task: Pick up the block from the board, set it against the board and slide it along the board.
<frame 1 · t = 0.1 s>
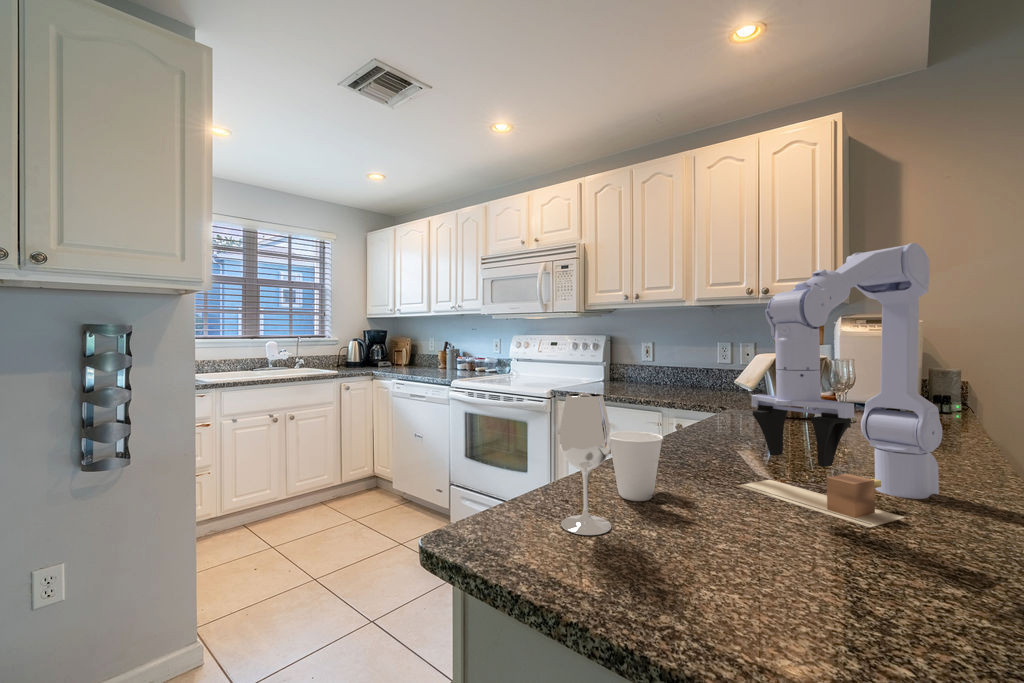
hand: (799, 460, 70), 10 cm above the counter, tool pointing down, fingers open, 7 cm apart
block: (850, 511, 72), point 1 cm above the counter, touching board
wineglass: (586, 527, 71), on the counter
board: (812, 508, 77), on the counter
cup: (635, 497, 84), on the counter
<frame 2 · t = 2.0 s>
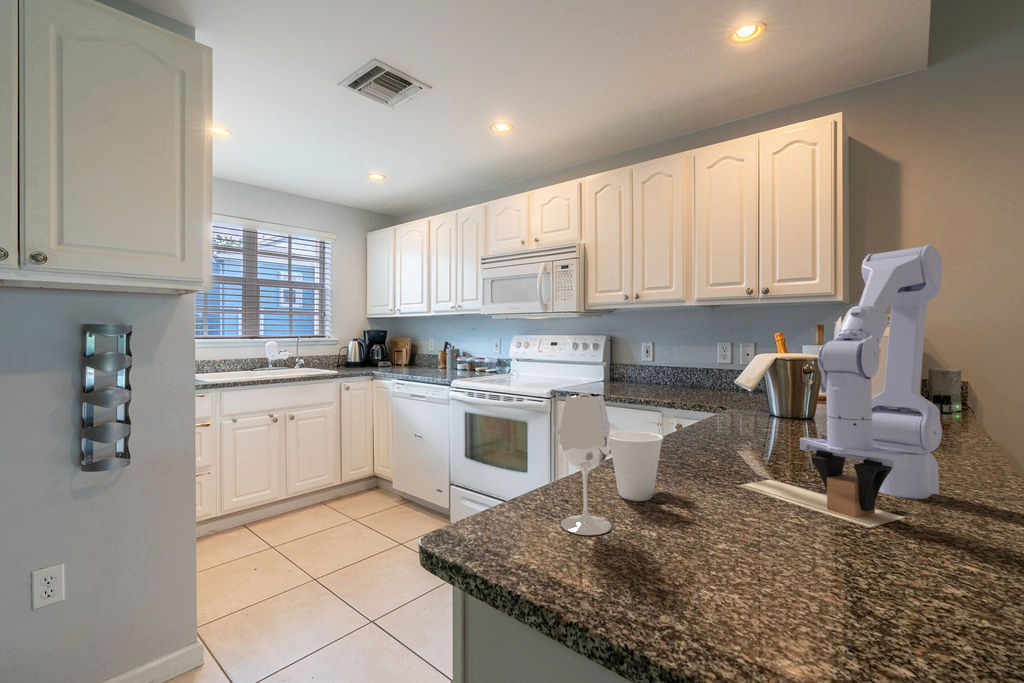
hand: (850, 505, 72), 2 cm above the counter, tool pointing down, fingers closed on block, 4 cm apart
block: (850, 511, 72), point 1 cm above the counter, touching board, gripper
everything else where it was.
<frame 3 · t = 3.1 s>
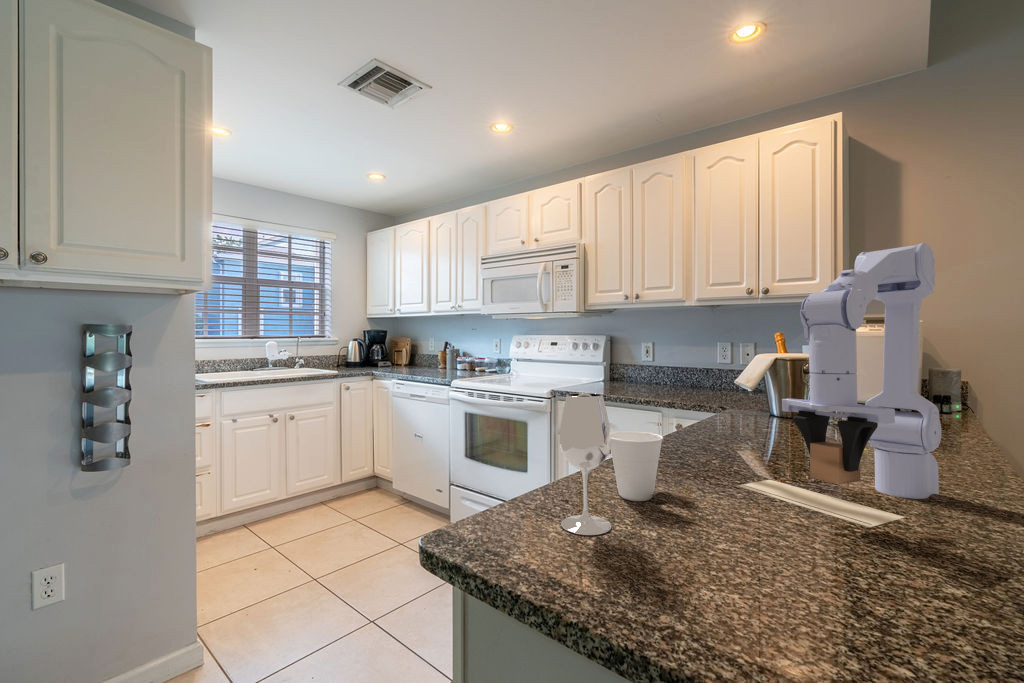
hand: (834, 466, 67), 10 cm above the counter, tool pointing down, fingers closed on block, 4 cm apart
block: (834, 479, 67), point 8 cm above the counter, touching gripper
everything else where it was.
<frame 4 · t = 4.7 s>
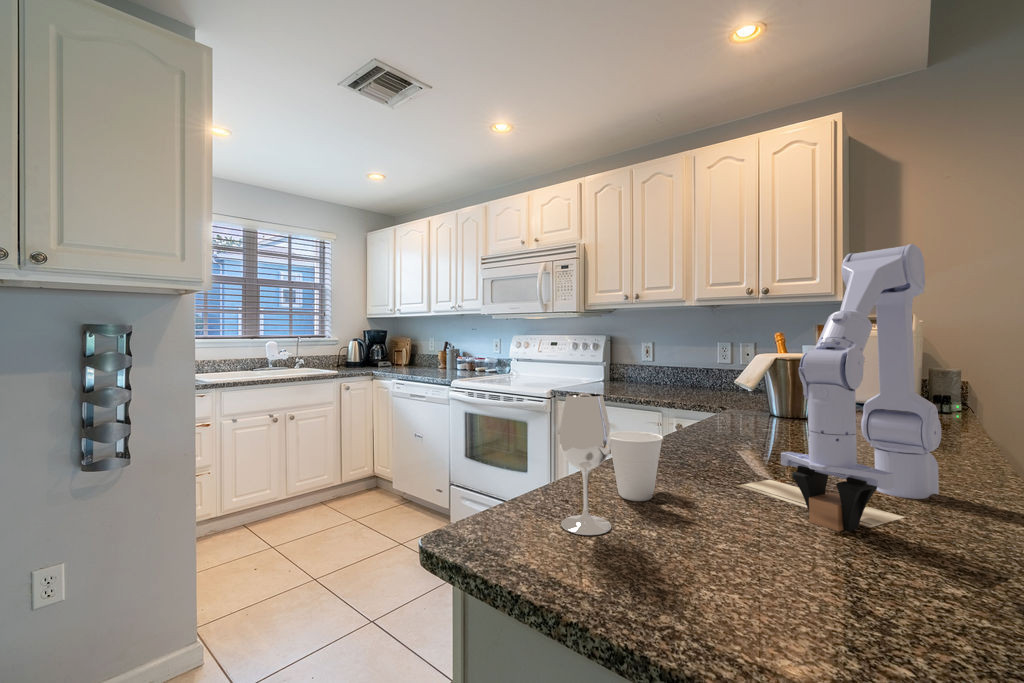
hand: (833, 526, 67), 1 cm above the counter, tool pointing down, fingers closed on block, 4 cm apart
block: (834, 533, 67), on the counter, touching gripper
everything else where it was.
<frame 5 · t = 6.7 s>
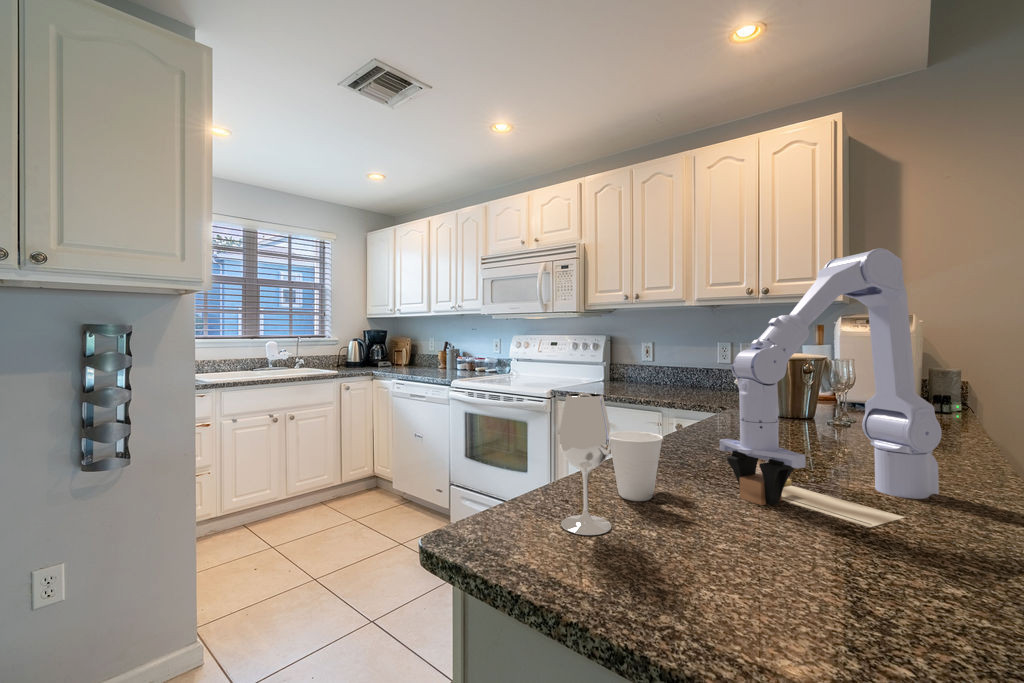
hand: (760, 501, 78), 1 cm above the counter, tool pointing down, fingers closed on block, 4 cm apart
block: (760, 508, 78), on the counter, touching gripper
everything else where it was.
when the fingers open (1 cm above the counter, at t = 8.1 s): block stays where it is, on the counter.
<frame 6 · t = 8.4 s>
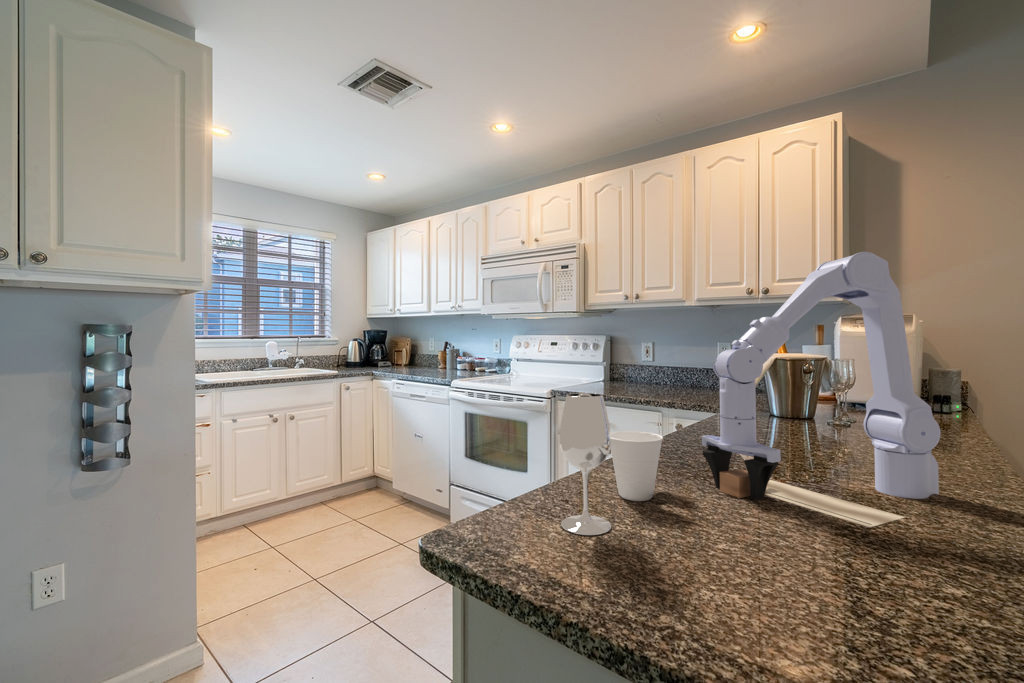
hand: (739, 494, 81), 1 cm above the counter, tool pointing down, fingers open, 7 cm apart
block: (739, 501, 81), on the counter
everything else where it was.
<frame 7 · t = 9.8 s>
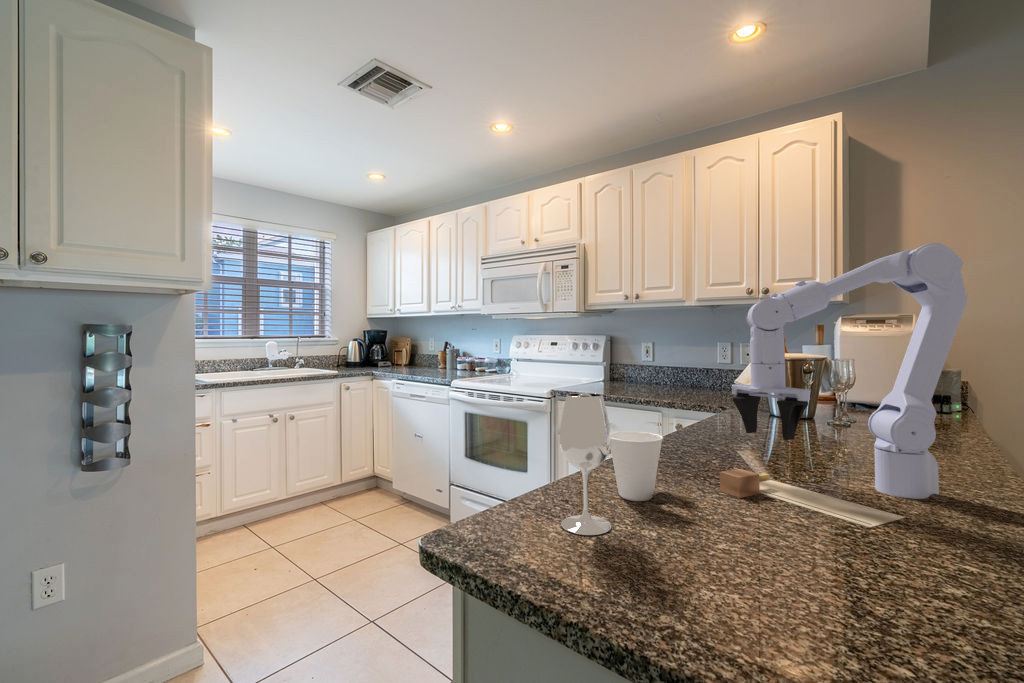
hand: (769, 435, 87), 10 cm above the counter, tool pointing down, fingers open, 7 cm apart
nothing on the counter moved.
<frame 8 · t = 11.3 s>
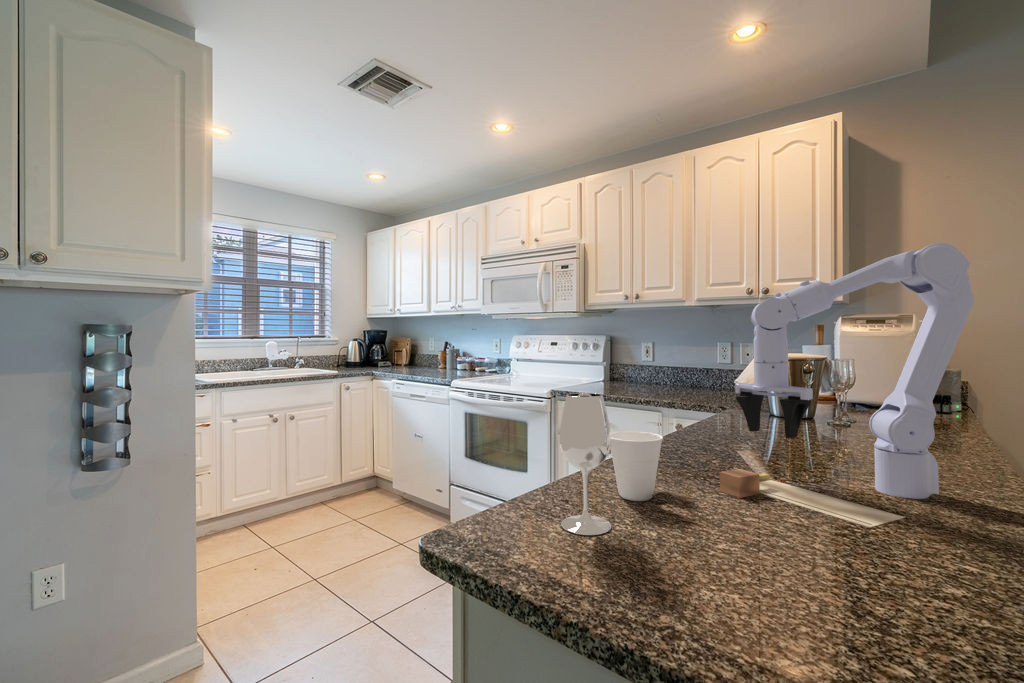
hand: (772, 434, 88), 10 cm above the counter, tool pointing down, fingers open, 7 cm apart
nothing on the counter moved.
at the end: block 0.1 cm from the target spot, on the counter; block tilted 0°; the gripper is holding nothing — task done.
